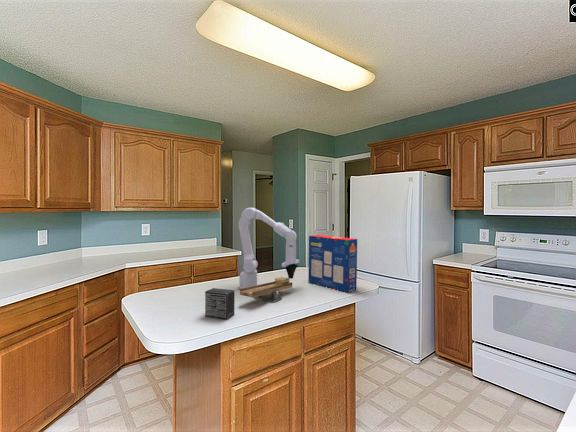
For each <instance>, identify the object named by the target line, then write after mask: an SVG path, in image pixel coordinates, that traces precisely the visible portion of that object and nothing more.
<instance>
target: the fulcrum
mask: <svg viewBox="0 0 576 432" xmlns="http://www.w3.org/2000/svg"><path fill="white" fill-rule="evenodd" d="M253 299H255V300H258V301H262V302H268V303H270V304H274V303H277V302H279V301H281V300H282V299H283V297H282V296H280V291H279V290H274V291H273V293H269V294H265V295H262V296H258V297H254V298H253Z"/></svg>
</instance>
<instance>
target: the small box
mask: <svg viewBox="0 0 576 432" xmlns="http://www.w3.org/2000/svg"><path fill="white" fill-rule="evenodd" d="M204 293H205V294H204V295H205V298H204V299H205V303H204V304H205V308H204V309H205V311H204V312H205V314H204V317H206V318H214V319H221V320H225V321H227V320H229V319H230V318H232V317H234V316H235V297H236V296H235V290H234V289H225V288H215V287H213V288H211V289H207V290H205V292H204Z"/></svg>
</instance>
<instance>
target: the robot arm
mask: <svg viewBox="0 0 576 432" xmlns="http://www.w3.org/2000/svg"><path fill="white" fill-rule="evenodd" d="M254 220H261V221H262V222H263V223H266V224H267V225H269V226H270V227H272V229H273V231H274V232H275V233H276V234H278V235H279V236H280V237H282V238H285V242H286V243H285V261H283V262H282V263H281V267H282V268H284V269H285V270H286V274H287V278H290V279H294V276H295V272H296V269H297V267H298V264H300V259H298V258H297V233H296V232H295V231H294V230H292V228H291V227H288V226H286V225H285V223H284V222H280V221H278V222H277V221H275V220H274V219H272V218H271V217H270V216H268V215H266V214H265V213H264V212H263V211H261V210H258V209H257V208H256V207H246V208H245V209H244V210H243V211H242V212H241V215H240V218H239V221H238V223H237V225H238V229H239V235H240V242H241V247H242V251H243V265H242V267H243V271H241V272H240V274H239V278H238V279H239V286H238V289H239V290H240V289H242V288H247V287H251V286H256V285H258V270H257V267H258V266H259V263H258V261H257V259H256V257H255V255H254V251H253V245H252V240H251V235H250V229H249V225H250V224H251V222H252V221H254ZM290 279H289V280H290Z"/></svg>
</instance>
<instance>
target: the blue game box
mask: <svg viewBox="0 0 576 432" xmlns="http://www.w3.org/2000/svg"><path fill="white" fill-rule="evenodd" d="M357 269H358V238H350V237H341V236H332V235H330V236H329V235H323V234H316V235H315V234H314V235H308V282H307V283H308V284H311V285H314V284H315V285H316V286H318V287H322V288H326V287H327V288H326V289H329V288H330V290H333V289H334V291H337V290H338V292H341V293H344V292H345V293H344V294H350V293H352V291H353V292H356V291H357V284H358V283H357V281H358V280H357V278H358V277H357V276H358V274H357V273H358V272H357V271H358V270H357ZM355 290H356V291H355Z"/></svg>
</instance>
